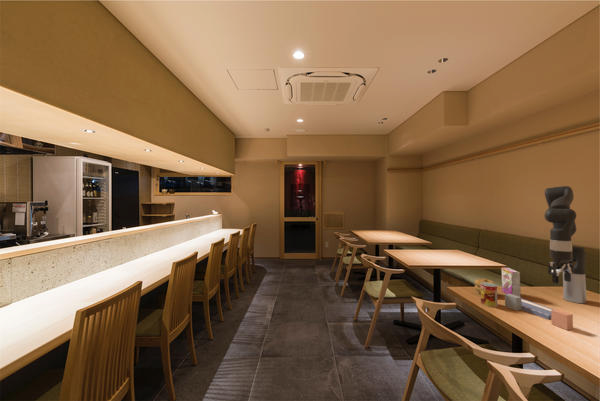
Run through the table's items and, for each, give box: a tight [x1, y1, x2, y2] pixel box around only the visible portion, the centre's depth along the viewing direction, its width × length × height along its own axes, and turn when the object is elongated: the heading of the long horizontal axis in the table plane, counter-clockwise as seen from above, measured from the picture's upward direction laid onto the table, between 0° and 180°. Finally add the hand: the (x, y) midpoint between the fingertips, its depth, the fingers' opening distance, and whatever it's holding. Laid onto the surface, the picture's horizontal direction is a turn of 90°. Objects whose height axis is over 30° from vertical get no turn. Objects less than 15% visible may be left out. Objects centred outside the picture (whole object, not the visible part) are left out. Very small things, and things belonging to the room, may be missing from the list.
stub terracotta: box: [550, 308, 574, 331], centre depth 119 cm, size 4×6×7 cm, turn 15°
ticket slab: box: [521, 297, 555, 321], centre depth 138 cm, size 12×20×2 cm, turn 15°
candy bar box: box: [501, 267, 522, 298], centre depth 160 cm, size 11×5×16 cm, turn 168°
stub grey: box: [504, 293, 523, 311], centre depth 140 cm, size 4×6×7 cm, turn 15°
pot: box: [474, 278, 496, 294], centre depth 162 cm, size 12×12×10 cm
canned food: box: [480, 282, 498, 308], centre depth 146 cm, size 8×8×12 cm
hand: (561, 282), depth 119 cm, fingers open, 8 cm apart
